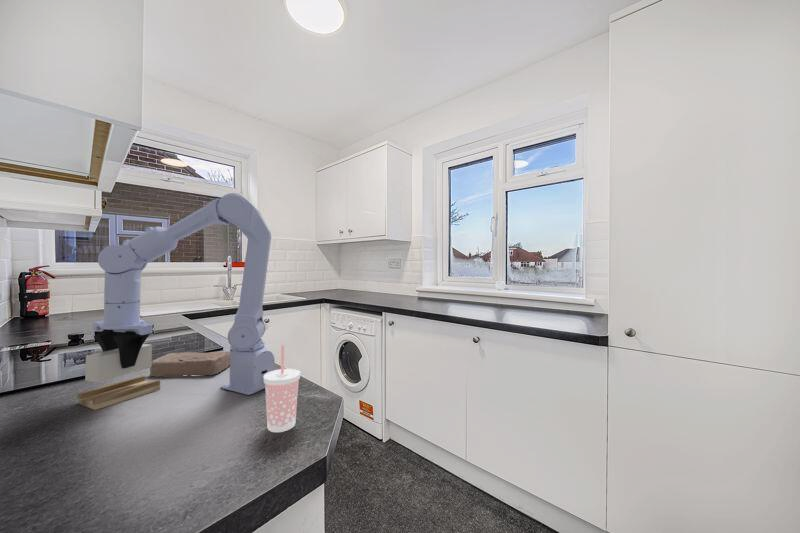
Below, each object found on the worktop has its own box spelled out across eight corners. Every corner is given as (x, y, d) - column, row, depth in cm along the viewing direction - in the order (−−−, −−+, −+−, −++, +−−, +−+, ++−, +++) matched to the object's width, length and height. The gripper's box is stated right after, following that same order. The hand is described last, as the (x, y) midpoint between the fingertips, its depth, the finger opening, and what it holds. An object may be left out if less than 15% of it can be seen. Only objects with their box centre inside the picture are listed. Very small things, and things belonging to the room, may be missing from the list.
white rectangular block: (97, 382, 59) (98, 356, 59) (85, 380, 60) (85, 355, 60) (151, 366, 69) (152, 344, 69) (140, 365, 70) (140, 343, 70)
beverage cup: (271, 416, 56) (272, 341, 56) (304, 417, 56) (305, 341, 56) (255, 434, 50) (257, 350, 50) (292, 435, 50) (293, 350, 50)
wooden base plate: (159, 389, 68) (160, 380, 68) (94, 410, 58) (95, 399, 58) (142, 384, 71) (142, 375, 71) (77, 403, 61) (77, 393, 61)
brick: (147, 378, 75) (147, 359, 75) (170, 367, 84) (170, 350, 84) (216, 378, 77) (216, 359, 77) (232, 367, 85) (232, 350, 85)
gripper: (167, 301, 66) (166, 363, 66) (119, 299, 70) (118, 357, 70) (131, 305, 60) (130, 374, 60) (81, 302, 63) (79, 367, 63)
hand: (121, 366), depth 64 cm, fingers closed on white rectangular block, 3 cm apart
